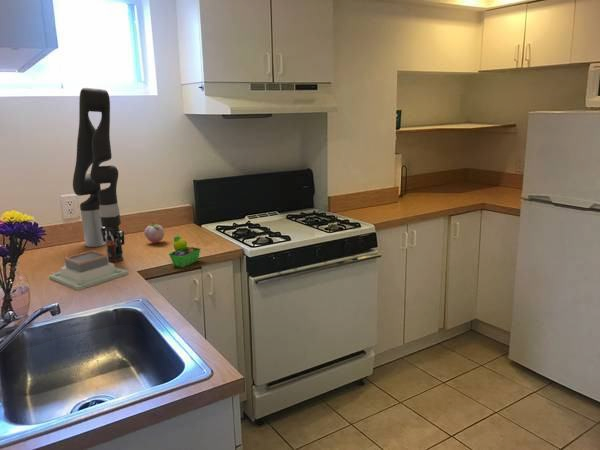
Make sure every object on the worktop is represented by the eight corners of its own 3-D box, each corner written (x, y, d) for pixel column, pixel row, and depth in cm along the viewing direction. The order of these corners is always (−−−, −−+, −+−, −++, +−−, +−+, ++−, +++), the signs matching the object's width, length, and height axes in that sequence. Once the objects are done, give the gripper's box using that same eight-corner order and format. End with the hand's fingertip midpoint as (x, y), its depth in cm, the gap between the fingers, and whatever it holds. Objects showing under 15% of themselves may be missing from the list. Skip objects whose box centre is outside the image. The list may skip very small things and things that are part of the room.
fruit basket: (182, 268, 193) (179, 241, 190) (166, 265, 198) (163, 238, 195) (202, 260, 202) (200, 234, 199) (187, 257, 207) (184, 231, 204)
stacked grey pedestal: (49, 278, 187) (45, 258, 185) (98, 263, 202) (95, 245, 200) (78, 290, 174) (74, 269, 172) (128, 273, 189) (125, 254, 187)
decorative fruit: (169, 242, 230) (167, 221, 228) (156, 246, 224) (153, 225, 221) (156, 239, 235) (153, 219, 233) (142, 244, 229) (140, 223, 226)
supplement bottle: (126, 258, 208) (123, 232, 205) (117, 262, 203) (113, 236, 200) (115, 257, 210) (111, 232, 207) (105, 261, 205) (101, 235, 202)
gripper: (92, 214, 203) (97, 252, 207) (111, 218, 194) (116, 258, 199) (108, 210, 209) (113, 248, 213) (127, 214, 200) (132, 253, 204)
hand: (115, 253), depth 206 cm, fingers closed on supplement bottle, 6 cm apart
